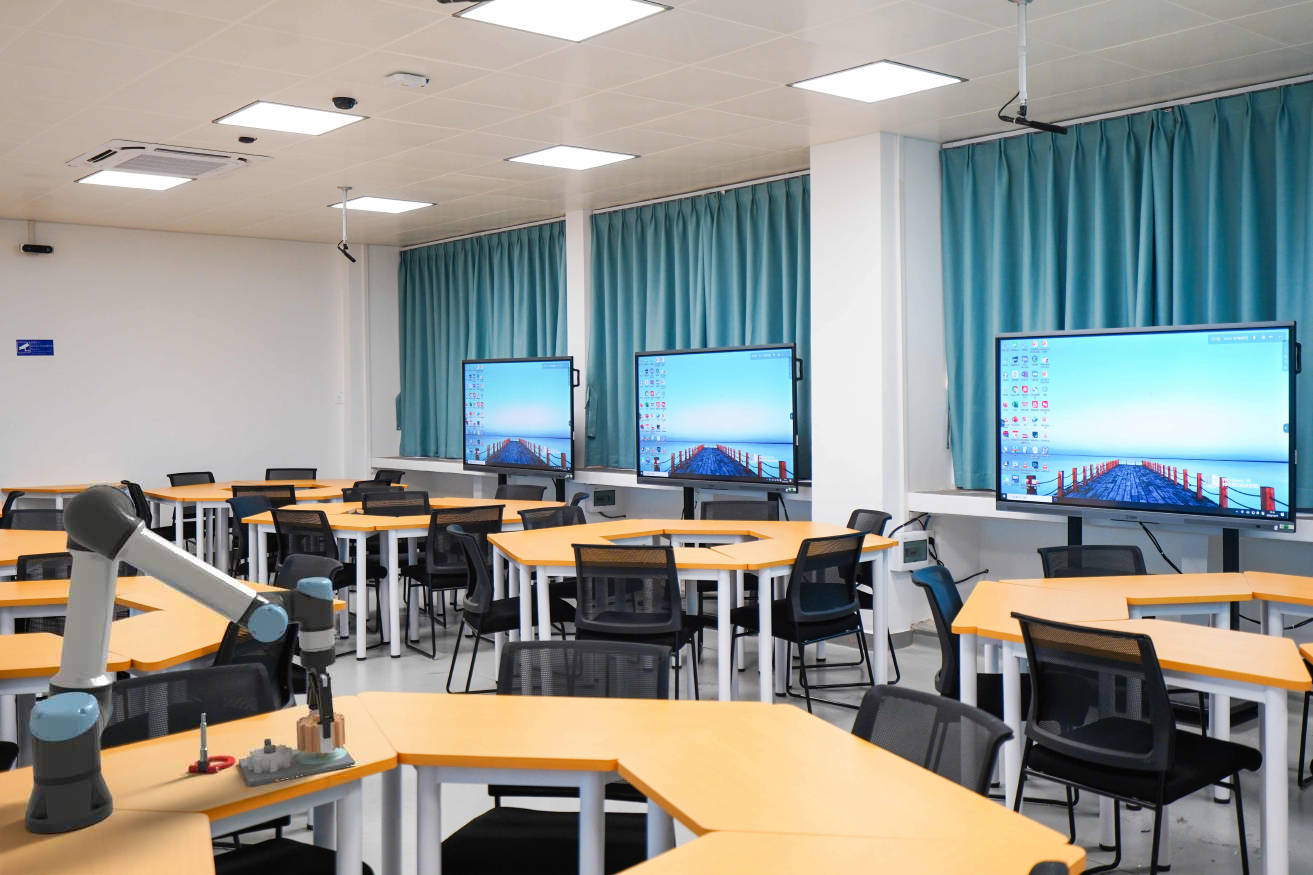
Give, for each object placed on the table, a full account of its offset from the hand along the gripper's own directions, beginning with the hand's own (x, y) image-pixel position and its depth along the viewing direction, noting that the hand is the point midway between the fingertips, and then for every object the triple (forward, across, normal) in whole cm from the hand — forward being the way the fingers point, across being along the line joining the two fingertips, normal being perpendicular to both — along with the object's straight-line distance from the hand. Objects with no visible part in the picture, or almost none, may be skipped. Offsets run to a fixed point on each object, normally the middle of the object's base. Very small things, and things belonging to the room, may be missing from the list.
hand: (321, 744), depth 235 cm
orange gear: (0, 0, 0) cm, 0 cm away
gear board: (+3, 0, +6) cm, 7 cm away
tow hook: (+4, +10, +22) cm, 24 cm away
